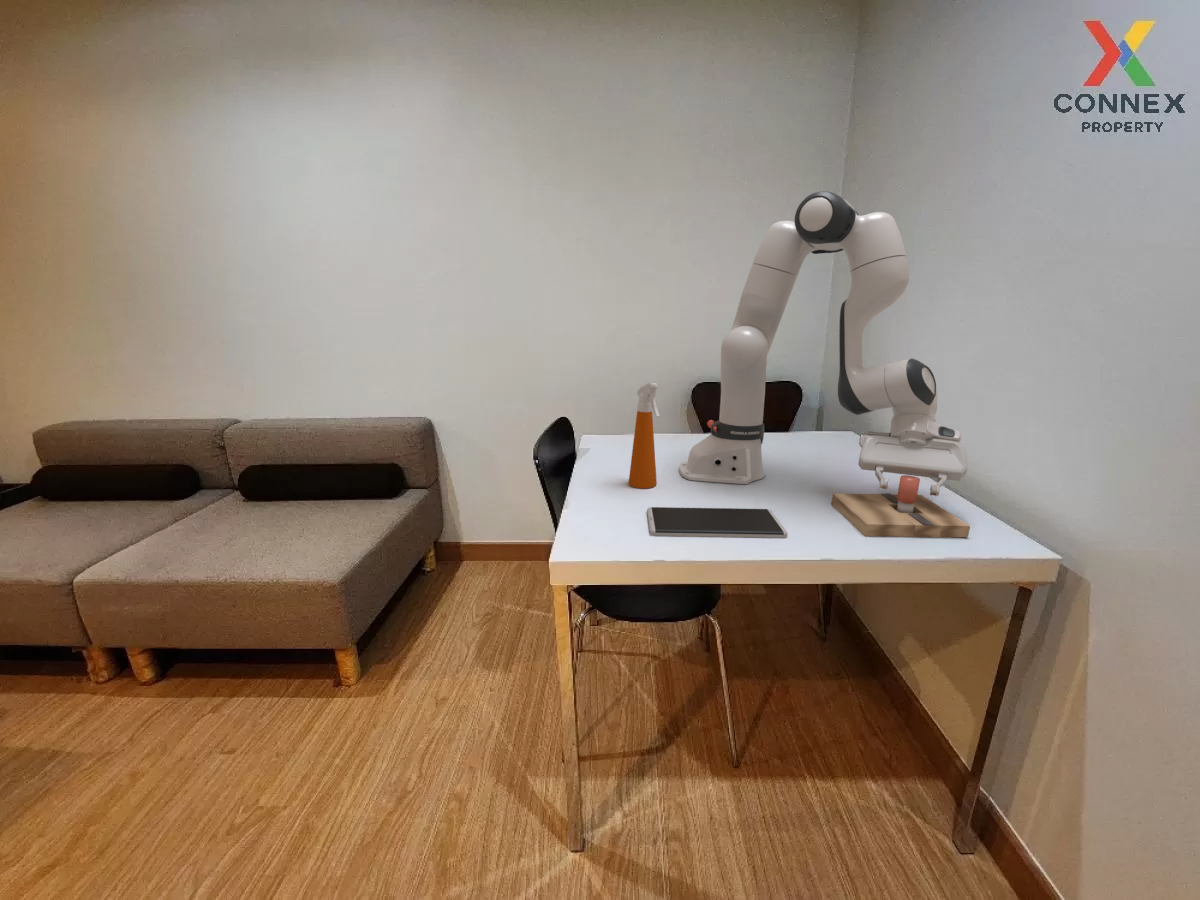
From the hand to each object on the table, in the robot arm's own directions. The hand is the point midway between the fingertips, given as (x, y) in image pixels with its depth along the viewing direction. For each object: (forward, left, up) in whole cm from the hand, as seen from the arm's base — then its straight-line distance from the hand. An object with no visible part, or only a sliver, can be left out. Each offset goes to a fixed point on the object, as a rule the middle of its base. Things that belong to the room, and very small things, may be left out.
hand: (908, 490), depth 115 cm
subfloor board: (-2, +1, -7) cm, 7 cm away
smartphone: (-41, -4, -7) cm, 42 cm away
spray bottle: (-54, +20, -7) cm, 58 cm away
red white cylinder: (0, +1, -6) cm, 6 cm away
